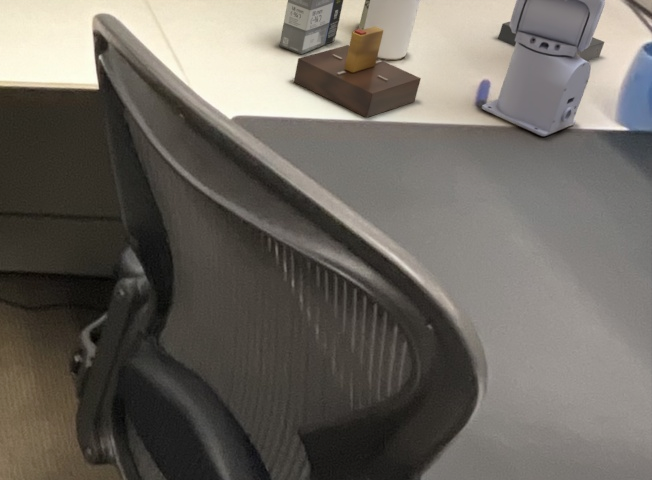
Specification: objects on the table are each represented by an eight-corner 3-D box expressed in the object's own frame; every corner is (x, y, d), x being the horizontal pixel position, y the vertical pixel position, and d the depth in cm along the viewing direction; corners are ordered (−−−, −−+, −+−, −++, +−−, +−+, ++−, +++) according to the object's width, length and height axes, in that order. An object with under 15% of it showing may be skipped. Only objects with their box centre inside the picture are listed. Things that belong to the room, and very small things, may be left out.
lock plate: (414, 101, 140) (421, 76, 138) (366, 117, 135) (372, 92, 133) (342, 67, 146) (348, 43, 144) (293, 81, 140) (298, 56, 138)
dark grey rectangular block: (599, 57, 162) (609, 29, 159) (567, 68, 157) (578, 39, 154) (530, 29, 167) (539, 1, 165) (497, 38, 162) (506, 10, 160)
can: (404, 64, 150) (428, -30, 142) (357, 55, 150) (378, -39, 142) (407, 48, 154) (430, -43, 146) (361, 39, 155) (382, -53, 147)
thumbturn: (366, 62, 140) (375, 24, 137) (375, 66, 139) (384, 27, 136) (343, 69, 137) (352, 30, 134) (352, 73, 137) (361, 34, 133)
